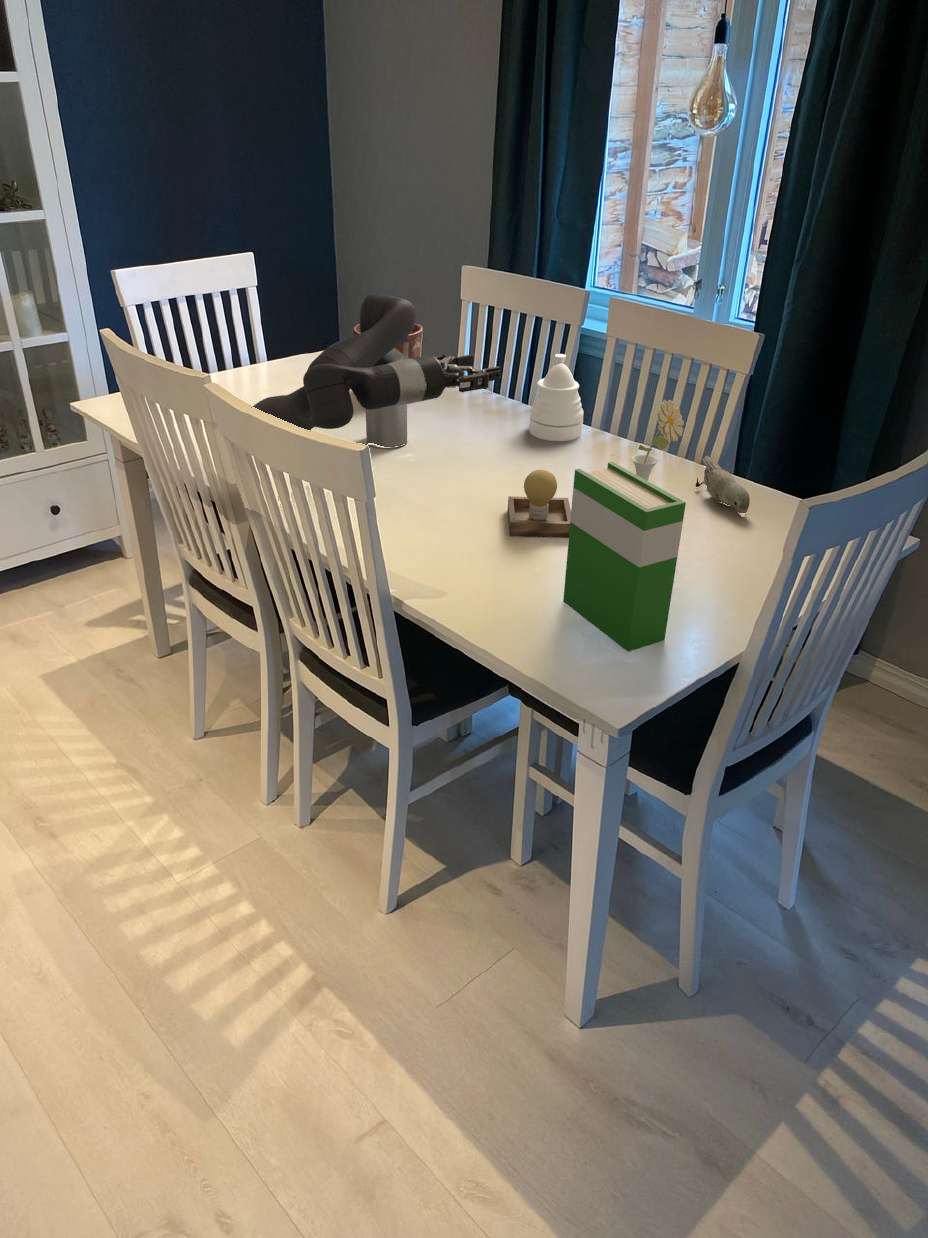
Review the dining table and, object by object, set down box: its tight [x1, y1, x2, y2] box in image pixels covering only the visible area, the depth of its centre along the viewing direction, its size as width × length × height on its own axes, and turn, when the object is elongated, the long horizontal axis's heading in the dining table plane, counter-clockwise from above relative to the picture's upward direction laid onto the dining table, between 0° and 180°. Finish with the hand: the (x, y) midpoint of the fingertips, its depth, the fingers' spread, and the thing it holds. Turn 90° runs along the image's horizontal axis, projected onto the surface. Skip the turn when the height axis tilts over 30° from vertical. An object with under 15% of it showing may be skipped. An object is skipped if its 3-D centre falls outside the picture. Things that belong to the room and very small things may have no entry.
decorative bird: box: [695, 455, 751, 514], centre depth 199 cm, size 5×16×8 cm, turn 20°
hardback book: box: [562, 461, 687, 653], centre depth 153 cm, size 18×7×24 cm, turn 30°
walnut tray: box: [507, 496, 571, 539], centre depth 189 cm, size 12×12×3 cm
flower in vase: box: [631, 399, 685, 482], centre depth 185 cm, size 13×11×25 cm
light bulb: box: [523, 469, 558, 521], centre depth 187 cm, size 6×6×10 cm
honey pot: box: [528, 353, 585, 442], centre depth 230 cm, size 13×13×18 cm
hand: (486, 366), depth 177 cm, fingers open, 8 cm apart
